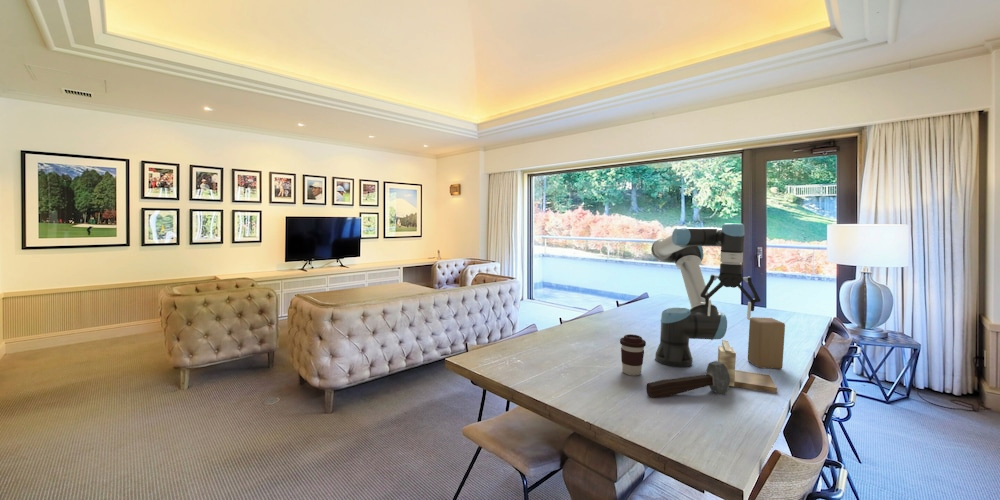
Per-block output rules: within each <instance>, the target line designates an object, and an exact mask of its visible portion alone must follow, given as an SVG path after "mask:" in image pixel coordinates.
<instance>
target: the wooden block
mask: <svg viewBox="0 0 1000 500" xmlns="http://www.w3.org/2000/svg"><path fill="white" fill-rule="evenodd" d="M748 325H749V328H748V343H747V345H748V346H747V347H748V348H747V360H748V361H747V362H750V363H751V364H753V365H754V367H755V366H756V367H757V368H759V369H772V368H773V369H777V370H780V369H783V365H784V362H783V361H784V351H785V350H784V348H785V347H784V346H785V331H786V323H784V322H782V321H780V320H777V319H775V318H773V317H756V316H755V317H754V316H753V317H752V316H751V317H750V320H749V324H748Z"/></svg>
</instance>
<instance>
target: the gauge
mask: <svg viewBox="0 0 1000 500" xmlns="http://www.w3.org/2000/svg"><path fill="white" fill-rule="evenodd" d="M721 341H722V343H721V345H718V347H717V348H718V351H717V361H719V362H721V363H723V364H724V365H725V366H726V368H727V371H728V373H729V377H730V383H729V387H734V381H735V370H736V359H737V352H736V351H735V350H734V347H733V346H731V345H730V343H729V340H723V339H722V340H721Z"/></svg>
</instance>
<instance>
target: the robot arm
mask: <svg viewBox="0 0 1000 500" xmlns="http://www.w3.org/2000/svg"><path fill="white" fill-rule="evenodd" d="M745 235H746V234H745V225H744V224H743V223H723V224H722V227H684V226H683V227H676V228H674V229H673V231H672V234H671V235H670V236H668V237H666V238H659V239H657V240H655V241H654V242H653V243H652V245H651V249H650V251H651V254H652V255H653V257H654V258H655V259H656V260H658V261H660V262H664V263H675V267H676V268H677V269H678V270H680V273H681V275H682V279H683V283H684V286H685V290H686V294H687V297H688V301H689V304H690V308H686V307H670V308H665V309H663V311H662V312H661V317H660V318H661V319H660V334H659V335H660V337H659V344H658V346H657V349H656V351H655V361H657V362H658V363H660V364H662V365H666V366H670V367H680V368H684V367H685V368H686V367H690V366H692V365H693V356H692V352H691V348H690V345H689V344H690V339H691V340H692V339H693V340H711V341H713V340H721V339H723V338H724V337H725V335H726V333H727V329H728V319H727V316H726V314H725V313H723V312H719V310H718V307H717V306H716V305H714V304H712V299H711V298H712V296H713V295H714V294H716V293H717V292H718V291H720V289H721V288H722V287H725V288H734V289H735V288H738V289H739V290H740V291H741V293H742V294H744V296H745V297H746V298H747V299H748V300H749V301H747V310H746V311H747V313H746V316H747V317H746V319H747V320H748V321H750V318H751V317H752V316H751V315H752V312H754V311H755V304H756V303H759V302H761V298H760V296H759V294H758V292H757V290H756V288H755V286H754V285H753V282H752V281H753V279H752V277H751V276H744V277H743V264H742V263H744V260H743V258H744V245H745ZM703 247H720V258H719V260H720V263H719V264H720V265H719V275H715V274H713V273H711V274H710V277H709V280H708V282H707V283H705V279H704V276H703V272H702V270H701V267H700V265H701V263H702V261H703V259H704V248H703ZM717 279H718V280H719V283H718V284H717V285H716V286H715V287H714V288H712V289H711V291H709V289H710V288H711V286H712V284H713V283H714V281H716V280H717ZM743 281H744V282H745V283H746V284H747V285H748V287H749V289H750V291H751V293H752V295H753V297H754V298H753V297H752V296H751V295H750V294H749V293H748V291H747V290H746V289H745V288H744V287H743V286H742V282H743ZM708 291H709V292H708Z"/></svg>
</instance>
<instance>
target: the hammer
mask: <svg viewBox="0 0 1000 500" xmlns="http://www.w3.org/2000/svg"><path fill="white" fill-rule="evenodd" d="M705 371H706V372H705V374H699V375H692V376H684V377H676V378H675V377H674V378H667V379H666V378H665V379H661V380H655V381H652V382H651V381H650V382H647V383H646V385H645V387H646V388H645V389H646V393H647V395H648V396H650V397H651V399H660V398H666V397H671V396H676V395H679V394H683V393H687V392H690V391H694V390H698V389H701V388H705V387H709V388H710V390H711V391H713V392H715V393H716V394H718V395H720V396H721V395H722V396H723V395H726V393H728V390H729V387H730V386H729V383H730V377H729V373H728V371H727V368H726V366H725V365H724V364H723V363H721V362H719V361H718V360H716V361H715V360H714V361H710V362H709V363H708V364H707V367H706V370H705Z"/></svg>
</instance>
